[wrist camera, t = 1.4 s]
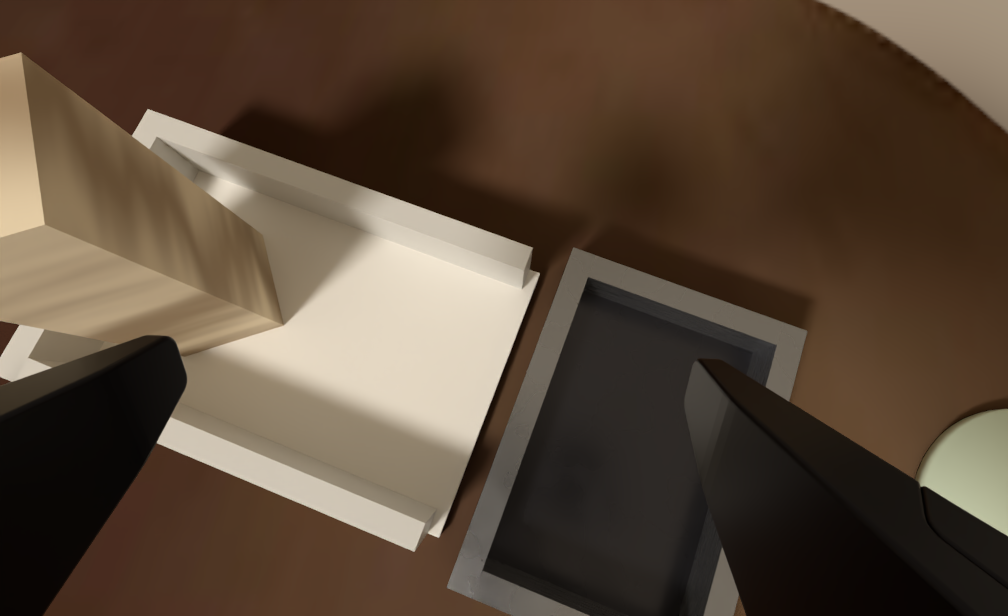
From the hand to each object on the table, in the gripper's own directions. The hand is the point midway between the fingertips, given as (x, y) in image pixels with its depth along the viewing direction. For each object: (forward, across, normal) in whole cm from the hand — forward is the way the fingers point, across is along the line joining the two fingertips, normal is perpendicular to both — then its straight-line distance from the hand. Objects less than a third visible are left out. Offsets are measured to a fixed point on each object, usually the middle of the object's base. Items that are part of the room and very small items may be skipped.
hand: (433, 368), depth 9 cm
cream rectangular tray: (+12, +8, +7) cm, 16 cm away
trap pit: (+9, -6, +11) cm, 16 cm away
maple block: (+13, +12, +6) cm, 18 cm away
